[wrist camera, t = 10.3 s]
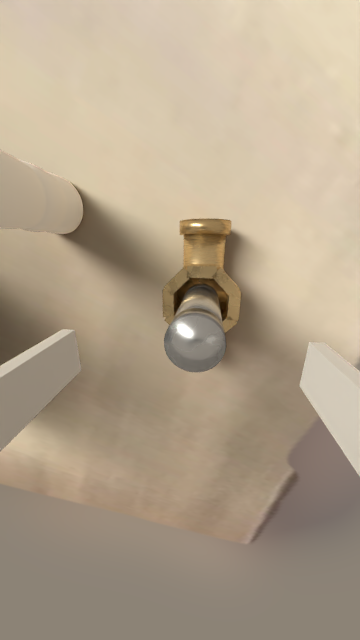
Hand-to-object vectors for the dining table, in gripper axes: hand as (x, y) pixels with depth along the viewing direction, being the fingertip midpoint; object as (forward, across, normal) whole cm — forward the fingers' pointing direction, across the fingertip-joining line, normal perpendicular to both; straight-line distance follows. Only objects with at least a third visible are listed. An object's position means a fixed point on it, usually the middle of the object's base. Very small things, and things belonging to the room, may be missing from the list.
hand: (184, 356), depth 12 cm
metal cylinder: (+14, +1, 0) cm, 14 cm away
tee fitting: (+20, +1, 0) cm, 20 cm away
